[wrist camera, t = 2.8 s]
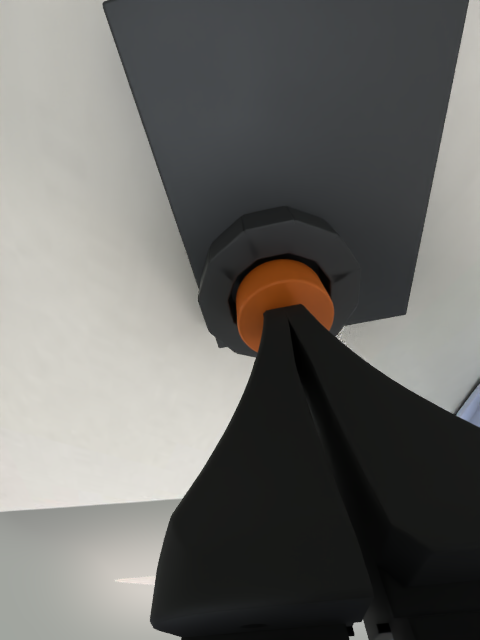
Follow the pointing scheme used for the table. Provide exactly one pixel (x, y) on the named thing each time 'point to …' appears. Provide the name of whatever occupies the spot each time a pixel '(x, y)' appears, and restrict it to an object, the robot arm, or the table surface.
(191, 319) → the table surface
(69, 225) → the table surface
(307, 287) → the round orange button cap
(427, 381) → the table surface
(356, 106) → the orange button switch
